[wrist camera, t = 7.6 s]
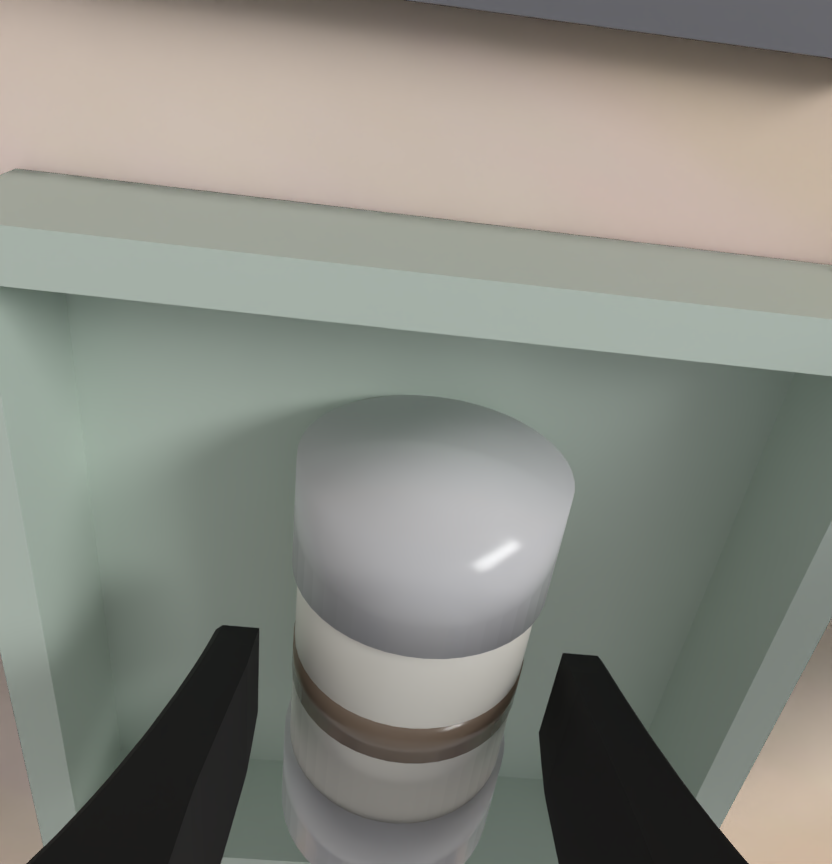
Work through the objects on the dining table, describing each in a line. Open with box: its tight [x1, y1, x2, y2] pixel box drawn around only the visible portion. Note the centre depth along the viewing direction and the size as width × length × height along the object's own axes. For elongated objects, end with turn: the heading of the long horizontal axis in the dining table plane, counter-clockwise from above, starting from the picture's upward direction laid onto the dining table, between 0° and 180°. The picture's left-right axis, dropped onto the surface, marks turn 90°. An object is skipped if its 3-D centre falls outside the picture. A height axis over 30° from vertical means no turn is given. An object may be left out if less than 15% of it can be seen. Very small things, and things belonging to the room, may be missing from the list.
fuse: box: [282, 395, 575, 864], centre depth 13 cm, size 4×8×4 cm, turn 173°
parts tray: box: [0, 169, 832, 864], centre depth 14 cm, size 14×14×3 cm
